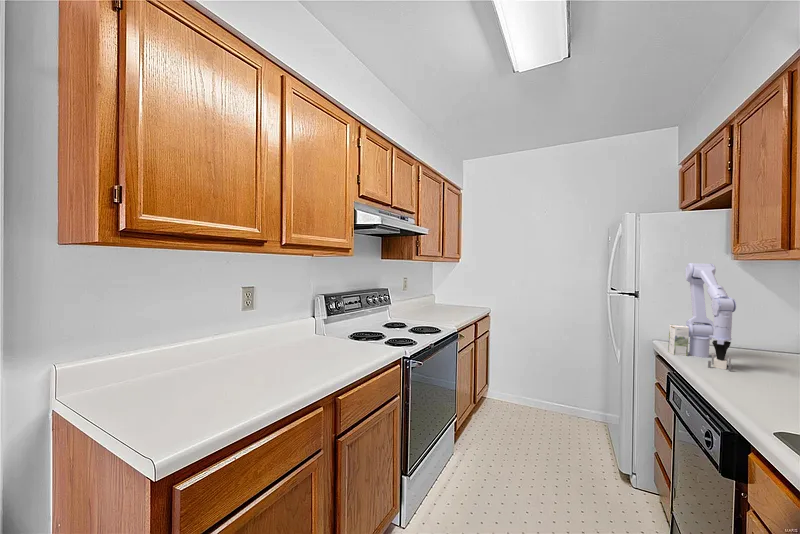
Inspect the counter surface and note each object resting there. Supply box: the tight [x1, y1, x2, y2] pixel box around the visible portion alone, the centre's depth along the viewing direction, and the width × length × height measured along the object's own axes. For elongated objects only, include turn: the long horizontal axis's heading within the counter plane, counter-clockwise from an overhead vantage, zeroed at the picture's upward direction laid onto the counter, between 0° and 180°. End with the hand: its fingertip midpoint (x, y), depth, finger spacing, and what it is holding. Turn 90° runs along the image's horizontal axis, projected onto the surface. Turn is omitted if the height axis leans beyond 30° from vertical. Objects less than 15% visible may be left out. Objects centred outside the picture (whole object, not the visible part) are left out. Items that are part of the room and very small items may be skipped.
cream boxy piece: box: [711, 353, 732, 368], centre depth 157 cm, size 3×6×4 cm, turn 46°
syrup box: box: [667, 323, 690, 357], centre depth 174 cm, size 6×6×14 cm
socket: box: [707, 360, 733, 372], centre depth 151 cm, size 2×7×3 cm, turn 46°
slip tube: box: [712, 356, 729, 370], centre depth 155 cm, size 8×4×6 cm, turn 136°
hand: (720, 358), depth 155 cm, fingers closed on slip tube, 3 cm apart
